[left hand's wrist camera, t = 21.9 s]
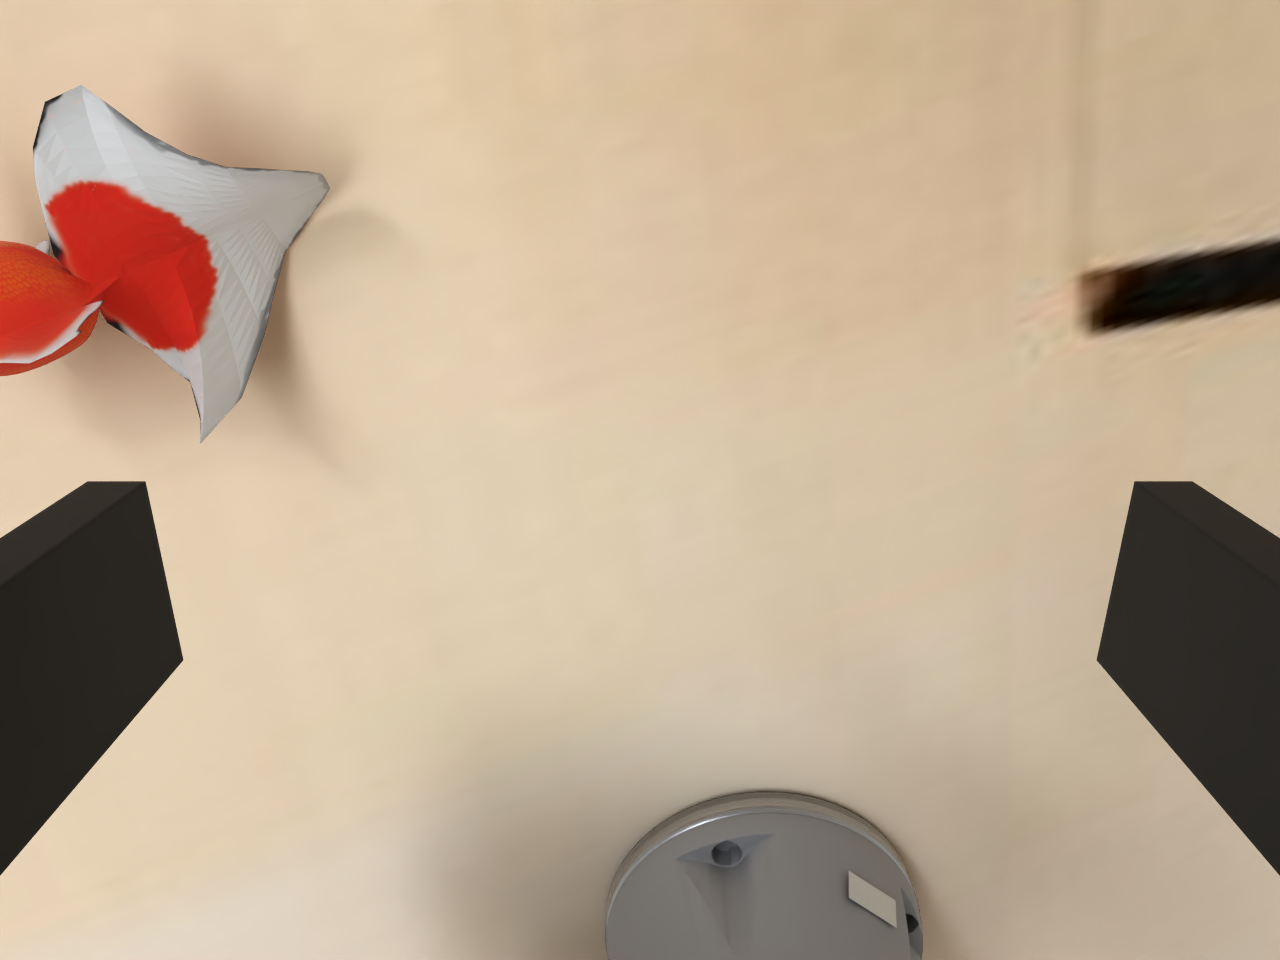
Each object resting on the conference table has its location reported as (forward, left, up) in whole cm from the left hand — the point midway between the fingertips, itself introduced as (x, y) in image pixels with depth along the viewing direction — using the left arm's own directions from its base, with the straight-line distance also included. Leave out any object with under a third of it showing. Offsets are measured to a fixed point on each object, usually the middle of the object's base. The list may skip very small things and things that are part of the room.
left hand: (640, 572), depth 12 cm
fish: (-7, +17, -24) cm, 30 cm away
